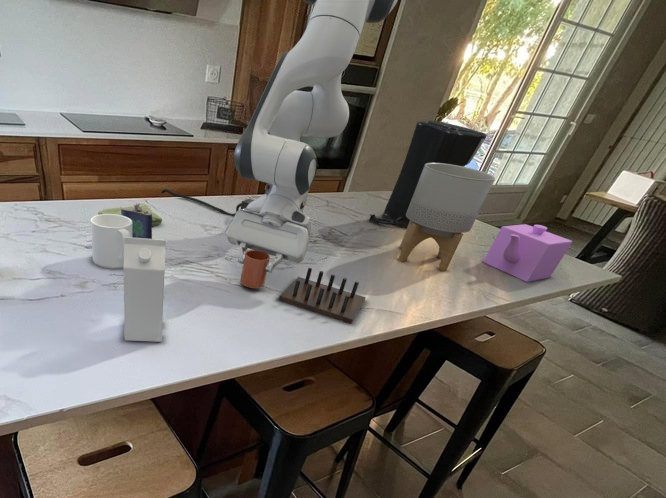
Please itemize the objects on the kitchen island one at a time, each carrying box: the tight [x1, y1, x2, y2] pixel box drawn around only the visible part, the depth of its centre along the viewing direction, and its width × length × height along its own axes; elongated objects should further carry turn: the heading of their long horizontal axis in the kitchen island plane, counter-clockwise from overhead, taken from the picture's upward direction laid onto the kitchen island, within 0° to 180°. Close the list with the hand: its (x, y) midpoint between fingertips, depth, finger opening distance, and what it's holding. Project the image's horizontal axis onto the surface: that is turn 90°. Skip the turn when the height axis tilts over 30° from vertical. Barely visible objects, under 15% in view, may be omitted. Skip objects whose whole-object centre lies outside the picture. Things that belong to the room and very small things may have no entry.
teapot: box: [482, 223, 573, 283], centre depth 135 cm, size 15×25×14 cm, turn 117°
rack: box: [278, 267, 366, 325], centre depth 105 cm, size 18×14×5 cm
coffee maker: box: [368, 119, 487, 229], centre depth 158 cm, size 23×32×34 cm
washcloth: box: [97, 204, 163, 227], centre depth 135 cm, size 13×18×3 cm
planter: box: [397, 163, 496, 272], centre depth 130 cm, size 19×19×26 cm
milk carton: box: [122, 237, 167, 343], centre depth 81 cm, size 7×7×19 cm
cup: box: [240, 249, 271, 289], centre depth 106 cm, size 6×6×7 cm
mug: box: [89, 214, 132, 270], centre depth 108 cm, size 13×10×10 cm
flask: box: [121, 203, 153, 239], centre depth 120 cm, size 9×3×11 cm, turn 71°
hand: (254, 267), depth 105 cm, fingers closed on cup, 6 cm apart
